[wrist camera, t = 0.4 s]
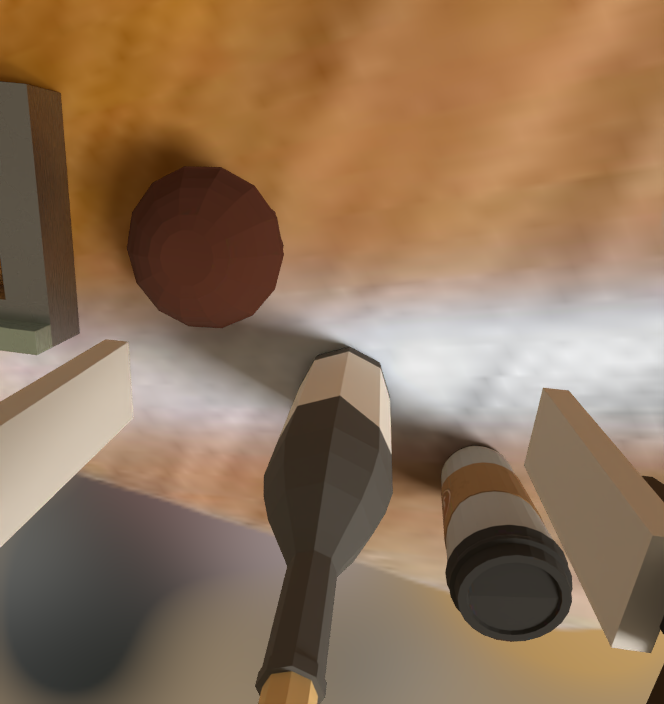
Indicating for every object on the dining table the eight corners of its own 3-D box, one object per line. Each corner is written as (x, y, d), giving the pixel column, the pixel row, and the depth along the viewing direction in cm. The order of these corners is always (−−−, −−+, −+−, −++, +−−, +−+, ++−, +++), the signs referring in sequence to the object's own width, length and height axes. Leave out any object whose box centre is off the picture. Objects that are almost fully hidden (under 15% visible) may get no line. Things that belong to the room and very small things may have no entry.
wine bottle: (283, 379, 46) (121, 706, 17) (351, 327, 43) (292, 605, 15) (339, 442, 47) (274, 834, 19) (408, 395, 45) (449, 760, 17)
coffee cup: (429, 433, 46) (450, 546, 32) (523, 433, 45) (587, 549, 31) (429, 509, 49) (448, 644, 35) (518, 510, 48) (574, 650, 34)
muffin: (220, 135, 39) (169, 122, 30) (326, 231, 41) (308, 247, 32) (139, 248, 43) (71, 268, 34) (239, 332, 45) (201, 374, 35)
